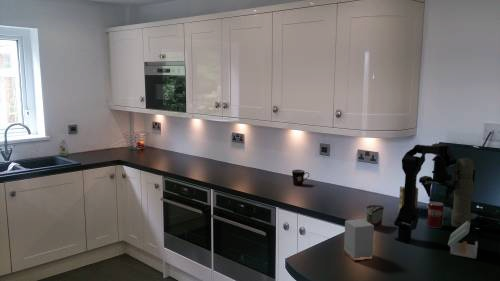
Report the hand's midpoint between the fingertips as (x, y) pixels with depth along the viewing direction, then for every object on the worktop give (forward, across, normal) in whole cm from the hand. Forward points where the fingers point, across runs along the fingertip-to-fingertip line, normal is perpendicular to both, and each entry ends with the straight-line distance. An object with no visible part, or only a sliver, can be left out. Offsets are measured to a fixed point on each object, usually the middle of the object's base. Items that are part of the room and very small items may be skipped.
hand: (438, 199), depth 216 cm
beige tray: (+14, -23, +19) cm, 33 cm away
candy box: (+15, +21, -7) cm, 27 cm away
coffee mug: (+15, +102, -3) cm, 103 cm away
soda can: (+15, +1, -1) cm, 15 cm away
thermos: (+15, -6, -12) cm, 20 cm away
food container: (+14, +21, +25) cm, 36 cm away
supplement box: (+13, +2, +60) cm, 62 cm away
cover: (+7, -21, +19) cm, 29 cm away
